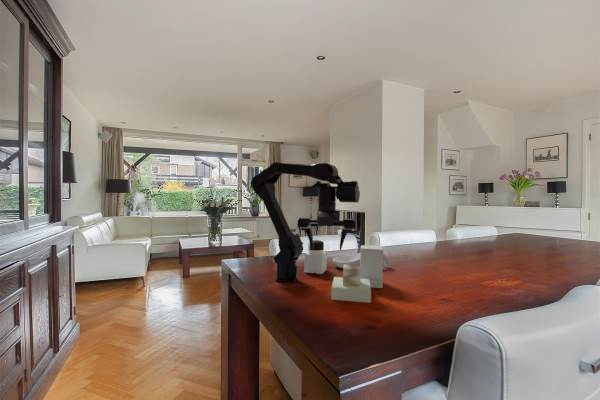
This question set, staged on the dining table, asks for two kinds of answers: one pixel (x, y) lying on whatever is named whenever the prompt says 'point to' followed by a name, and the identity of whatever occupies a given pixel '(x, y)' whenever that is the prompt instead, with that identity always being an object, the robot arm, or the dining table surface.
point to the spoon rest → (354, 260)
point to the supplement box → (372, 265)
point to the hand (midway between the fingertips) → (326, 249)
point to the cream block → (351, 275)
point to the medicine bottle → (315, 258)
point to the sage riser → (351, 291)
